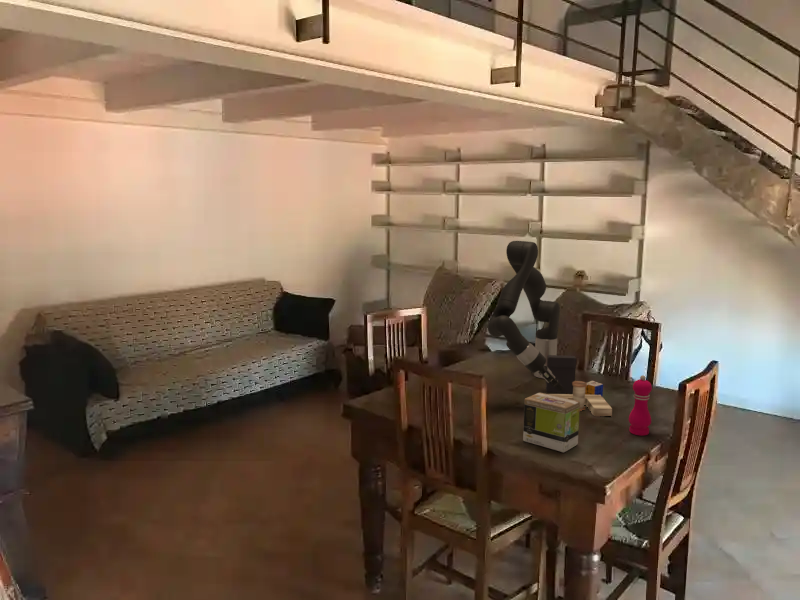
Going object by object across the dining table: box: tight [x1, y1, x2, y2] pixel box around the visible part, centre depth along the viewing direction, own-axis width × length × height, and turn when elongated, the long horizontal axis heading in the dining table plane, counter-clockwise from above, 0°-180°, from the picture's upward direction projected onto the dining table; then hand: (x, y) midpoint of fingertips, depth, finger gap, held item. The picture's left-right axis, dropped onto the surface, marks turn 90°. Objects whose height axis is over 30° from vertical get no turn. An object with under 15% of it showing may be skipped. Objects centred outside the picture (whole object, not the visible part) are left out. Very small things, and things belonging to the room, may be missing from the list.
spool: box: [572, 380, 587, 412], centre depth 247 cm, size 5×5×10 cm
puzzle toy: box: [585, 380, 604, 397], centre depth 262 cm, size 6×5×6 cm
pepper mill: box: [628, 374, 653, 437], centre depth 223 cm, size 7×7×20 cm
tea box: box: [522, 392, 580, 453], centre depth 213 cm, size 15×10×15 cm, turn 48°
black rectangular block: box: [545, 354, 577, 394], centre depth 266 cm, size 11×4×15 cm, turn 84°
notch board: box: [548, 393, 613, 418], centre depth 247 cm, size 16×20×3 cm
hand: (560, 387), depth 246 cm, fingers open, 8 cm apart
